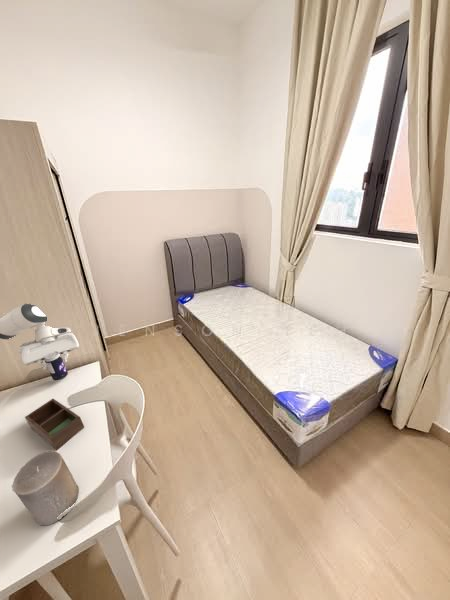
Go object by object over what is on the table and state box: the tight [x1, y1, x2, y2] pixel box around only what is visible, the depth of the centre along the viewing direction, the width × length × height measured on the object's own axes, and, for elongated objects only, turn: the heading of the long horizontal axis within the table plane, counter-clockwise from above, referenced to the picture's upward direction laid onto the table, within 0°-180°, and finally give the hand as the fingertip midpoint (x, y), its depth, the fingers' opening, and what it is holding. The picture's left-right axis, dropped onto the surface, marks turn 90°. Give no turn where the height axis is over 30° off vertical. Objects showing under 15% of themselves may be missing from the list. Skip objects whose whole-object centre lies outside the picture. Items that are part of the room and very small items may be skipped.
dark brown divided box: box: [24, 398, 85, 451], centre depth 81 cm, size 17×9×5 cm, turn 60°
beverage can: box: [43, 352, 69, 382], centre depth 101 cm, size 6×6×12 cm
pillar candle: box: [11, 450, 80, 527], centre depth 58 cm, size 10×10×15 cm
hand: (56, 366), depth 100 cm, fingers closed on beverage can, 5 cm apart
